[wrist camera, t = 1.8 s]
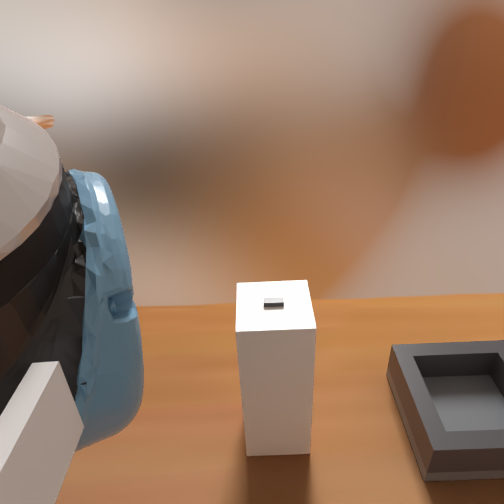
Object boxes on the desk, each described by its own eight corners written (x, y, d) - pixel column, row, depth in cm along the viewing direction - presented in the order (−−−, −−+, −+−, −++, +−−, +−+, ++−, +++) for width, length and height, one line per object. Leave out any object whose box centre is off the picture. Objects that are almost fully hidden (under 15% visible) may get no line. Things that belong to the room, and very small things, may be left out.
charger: (246, 456, 30) (235, 327, 24) (246, 402, 34) (236, 279, 27) (310, 453, 30) (316, 324, 24) (303, 400, 34) (306, 276, 27)
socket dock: (423, 481, 28) (433, 450, 26) (386, 374, 36) (391, 344, 34) (561, 476, 28) (581, 445, 26) (494, 370, 36) (505, 340, 34)
